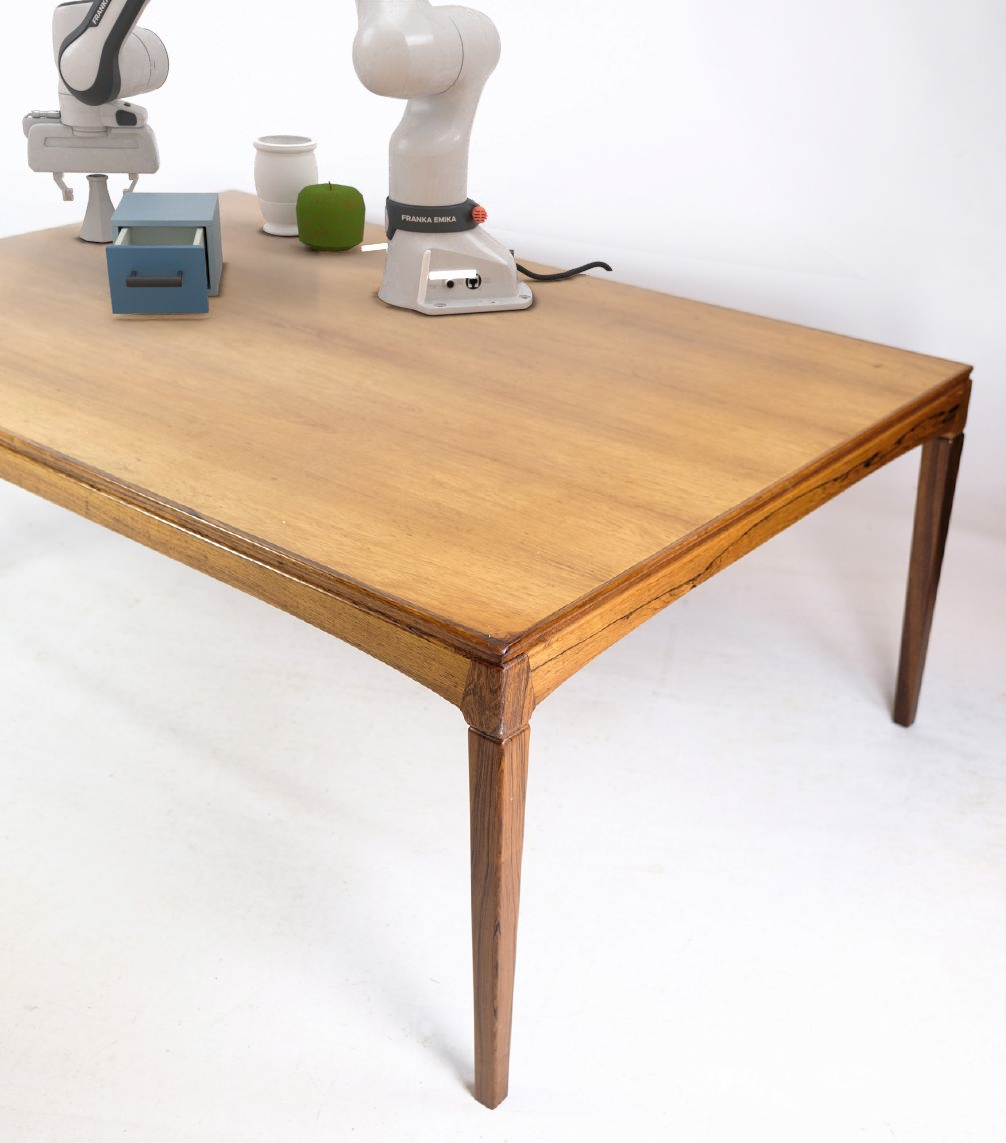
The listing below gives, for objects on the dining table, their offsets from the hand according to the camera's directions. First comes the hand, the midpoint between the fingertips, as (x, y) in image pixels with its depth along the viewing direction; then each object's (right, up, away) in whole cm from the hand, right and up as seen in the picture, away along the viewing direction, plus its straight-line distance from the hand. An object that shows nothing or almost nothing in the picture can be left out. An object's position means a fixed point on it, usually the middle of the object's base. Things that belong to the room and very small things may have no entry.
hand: (98, 200), depth 209 cm
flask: (0, -6, +3) cm, 6 cm away
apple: (+38, -8, +2) cm, 38 cm away
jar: (+29, -2, +11) cm, 31 cm away
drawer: (+19, -23, -30) cm, 42 cm away
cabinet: (+16, -17, -17) cm, 29 cm away
